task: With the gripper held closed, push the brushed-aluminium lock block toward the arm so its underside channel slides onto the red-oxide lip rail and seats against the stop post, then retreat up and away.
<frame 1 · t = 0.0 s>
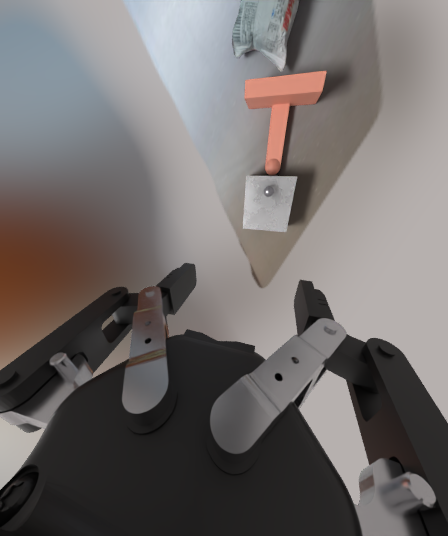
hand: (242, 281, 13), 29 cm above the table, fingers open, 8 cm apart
coupler lip: (277, 135, 31), on the table
lock: (268, 202, 37), on the table
packaged food: (275, 13, 25), on the table
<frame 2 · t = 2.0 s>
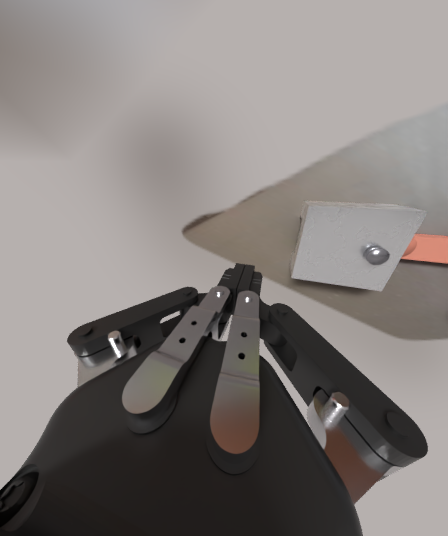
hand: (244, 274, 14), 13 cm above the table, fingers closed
coupler lip: (446, 248, 19), on the table
lock: (335, 238, 22), on the table
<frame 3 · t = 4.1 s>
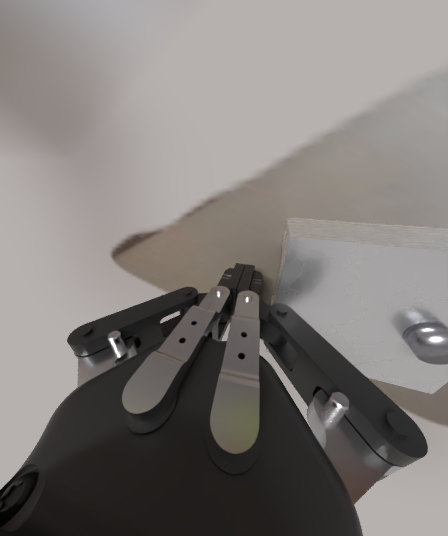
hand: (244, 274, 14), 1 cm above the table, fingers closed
lock: (343, 280, 13), on the table, touching gripper
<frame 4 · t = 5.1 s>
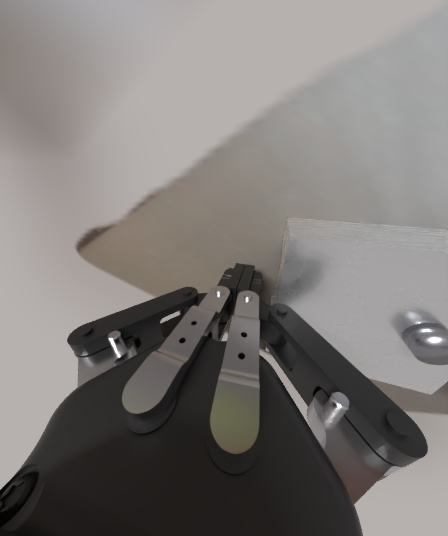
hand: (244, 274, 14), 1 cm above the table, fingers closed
lock: (342, 281, 13), on the table, touching gripper
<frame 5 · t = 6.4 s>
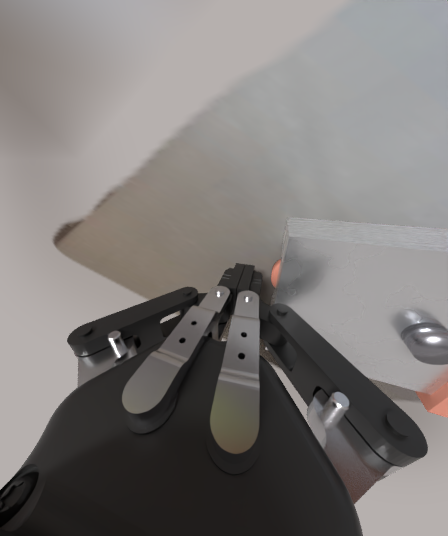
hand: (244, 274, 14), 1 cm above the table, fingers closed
coupler lip: (358, 282, 13), on the table
lock: (343, 280, 13), on the table, touching coupler lip, gripper
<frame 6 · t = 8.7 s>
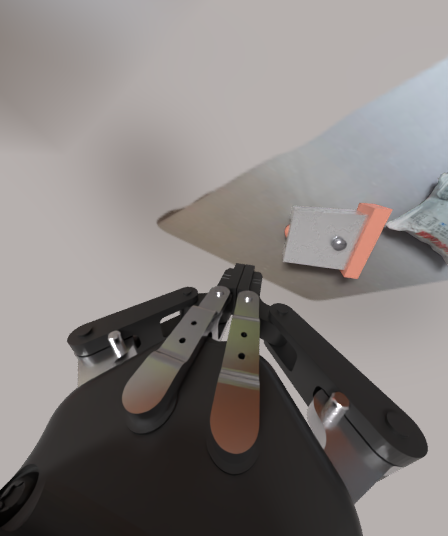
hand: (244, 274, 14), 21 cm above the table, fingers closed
coupler lip: (321, 233, 30), on the table
lock: (315, 233, 31), on the table
packaged food: (435, 220, 26), on the table
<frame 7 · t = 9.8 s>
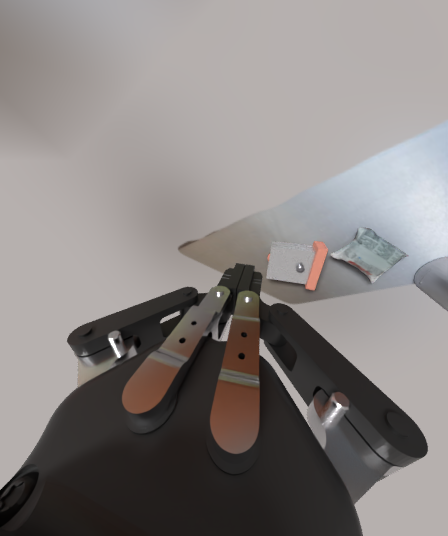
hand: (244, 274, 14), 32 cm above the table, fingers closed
coupler lip: (292, 259, 45), on the table
lock: (288, 258, 45), on the table
packaged food: (362, 252, 40), on the table
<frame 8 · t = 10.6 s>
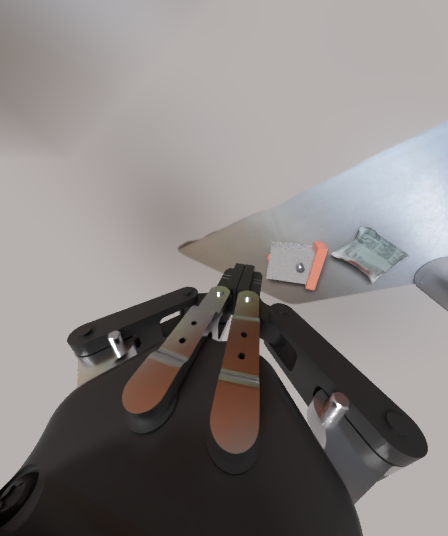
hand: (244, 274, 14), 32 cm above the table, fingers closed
coupler lip: (292, 259, 45), on the table
lock: (288, 258, 45), on the table
packaged food: (362, 251, 40), on the table
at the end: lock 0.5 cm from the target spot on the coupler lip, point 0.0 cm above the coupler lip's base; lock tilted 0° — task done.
